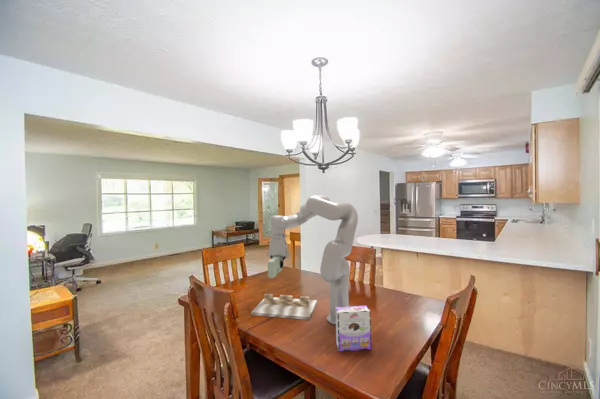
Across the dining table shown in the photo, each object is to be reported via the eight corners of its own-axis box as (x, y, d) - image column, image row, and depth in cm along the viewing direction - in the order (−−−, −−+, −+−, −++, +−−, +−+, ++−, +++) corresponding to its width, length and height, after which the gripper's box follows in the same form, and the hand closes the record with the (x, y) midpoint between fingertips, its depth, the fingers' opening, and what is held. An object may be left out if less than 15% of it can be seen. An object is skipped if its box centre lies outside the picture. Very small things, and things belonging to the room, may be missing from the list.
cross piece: (277, 269, 165) (277, 254, 165) (282, 269, 165) (281, 254, 164) (268, 277, 150) (267, 261, 149) (273, 278, 149) (273, 261, 149)
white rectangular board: (316, 302, 162) (316, 291, 162) (309, 320, 140) (309, 307, 140) (265, 299, 169) (265, 288, 169) (251, 314, 148) (250, 303, 148)
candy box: (367, 342, 119) (367, 304, 118) (371, 350, 113) (371, 310, 112) (335, 343, 118) (335, 306, 118) (338, 351, 112) (337, 312, 112)
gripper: (292, 235, 164) (293, 266, 164) (266, 235, 167) (267, 265, 168) (289, 237, 156) (290, 269, 157) (262, 237, 160) (263, 268, 161)
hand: (278, 267), depth 163 cm, fingers closed on cross piece, 3 cm apart
